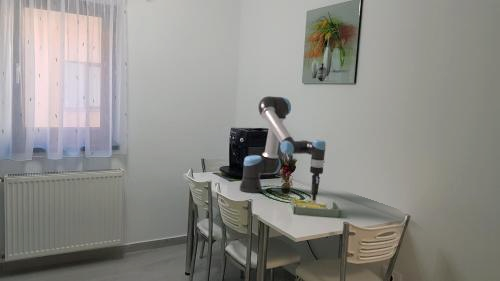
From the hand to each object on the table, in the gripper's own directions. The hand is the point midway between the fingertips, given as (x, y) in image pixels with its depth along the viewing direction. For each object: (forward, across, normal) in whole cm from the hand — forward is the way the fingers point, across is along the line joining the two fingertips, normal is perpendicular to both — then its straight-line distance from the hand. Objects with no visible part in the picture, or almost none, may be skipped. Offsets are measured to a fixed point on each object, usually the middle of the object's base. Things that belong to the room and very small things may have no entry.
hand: (313, 204), depth 223 cm
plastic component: (+2, -6, +3) cm, 7 cm away
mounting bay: (+2, -7, 0) cm, 8 cm away
